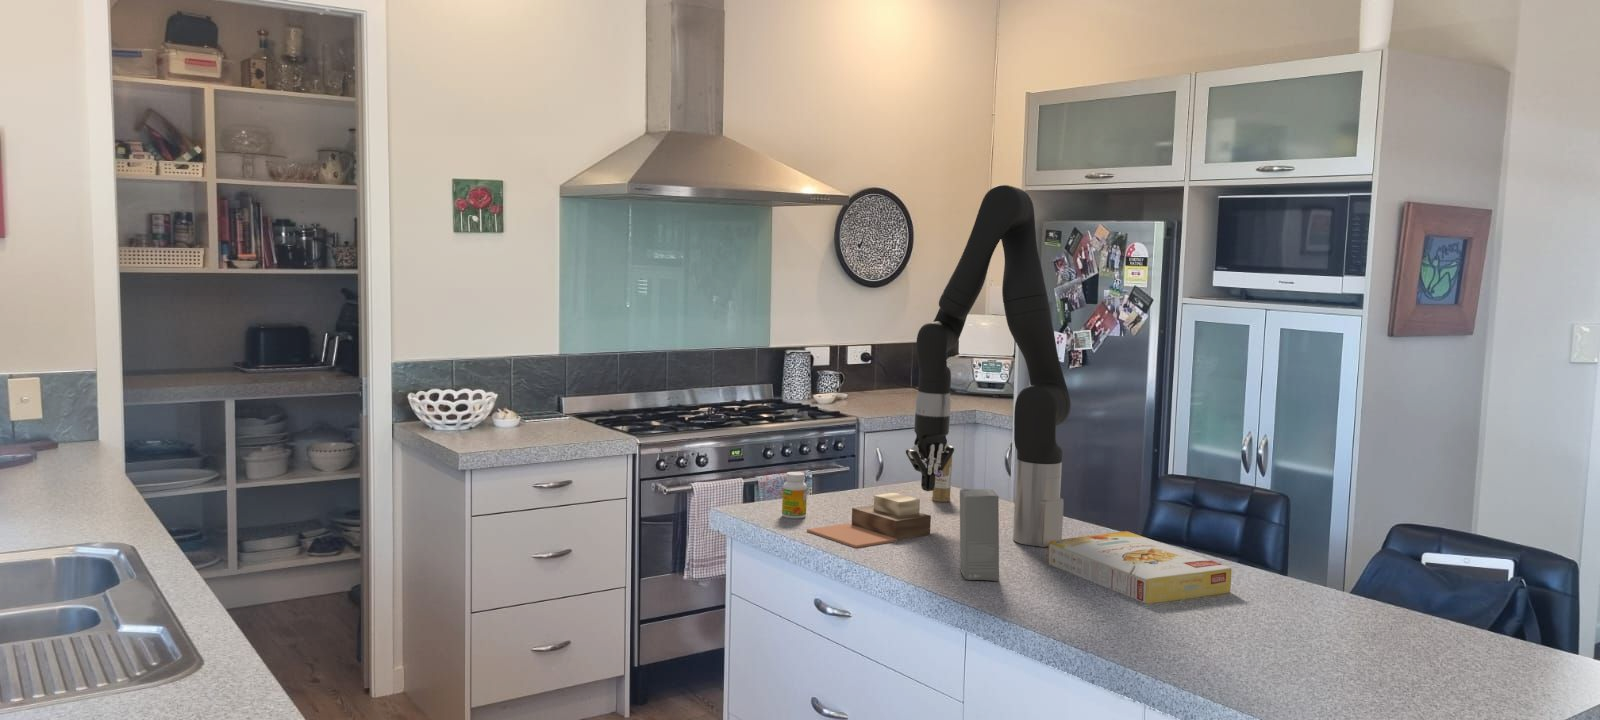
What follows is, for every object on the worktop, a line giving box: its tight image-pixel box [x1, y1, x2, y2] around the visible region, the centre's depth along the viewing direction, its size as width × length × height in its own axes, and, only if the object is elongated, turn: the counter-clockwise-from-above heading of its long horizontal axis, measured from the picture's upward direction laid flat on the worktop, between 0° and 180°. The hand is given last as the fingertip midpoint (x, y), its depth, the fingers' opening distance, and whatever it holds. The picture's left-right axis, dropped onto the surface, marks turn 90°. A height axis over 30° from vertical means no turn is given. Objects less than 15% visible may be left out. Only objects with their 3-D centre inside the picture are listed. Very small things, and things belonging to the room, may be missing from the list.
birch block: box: [873, 492, 921, 516], centre depth 253 cm, size 8×6×3 cm
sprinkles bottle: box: [931, 444, 954, 503], centre depth 285 cm, size 5×5×14 cm
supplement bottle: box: [781, 471, 808, 520], centre depth 263 cm, size 5×5×10 cm
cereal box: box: [1047, 530, 1232, 604], centre depth 221 cm, size 20×6×28 cm
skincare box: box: [959, 488, 1000, 582], centre depth 219 cm, size 8×7×16 cm
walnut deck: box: [851, 504, 932, 540], centre depth 253 cm, size 14×10×4 cm
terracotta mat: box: [806, 522, 897, 549], centre depth 246 cm, size 16×11×1 cm
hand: (927, 490), depth 259 cm, fingers closed
